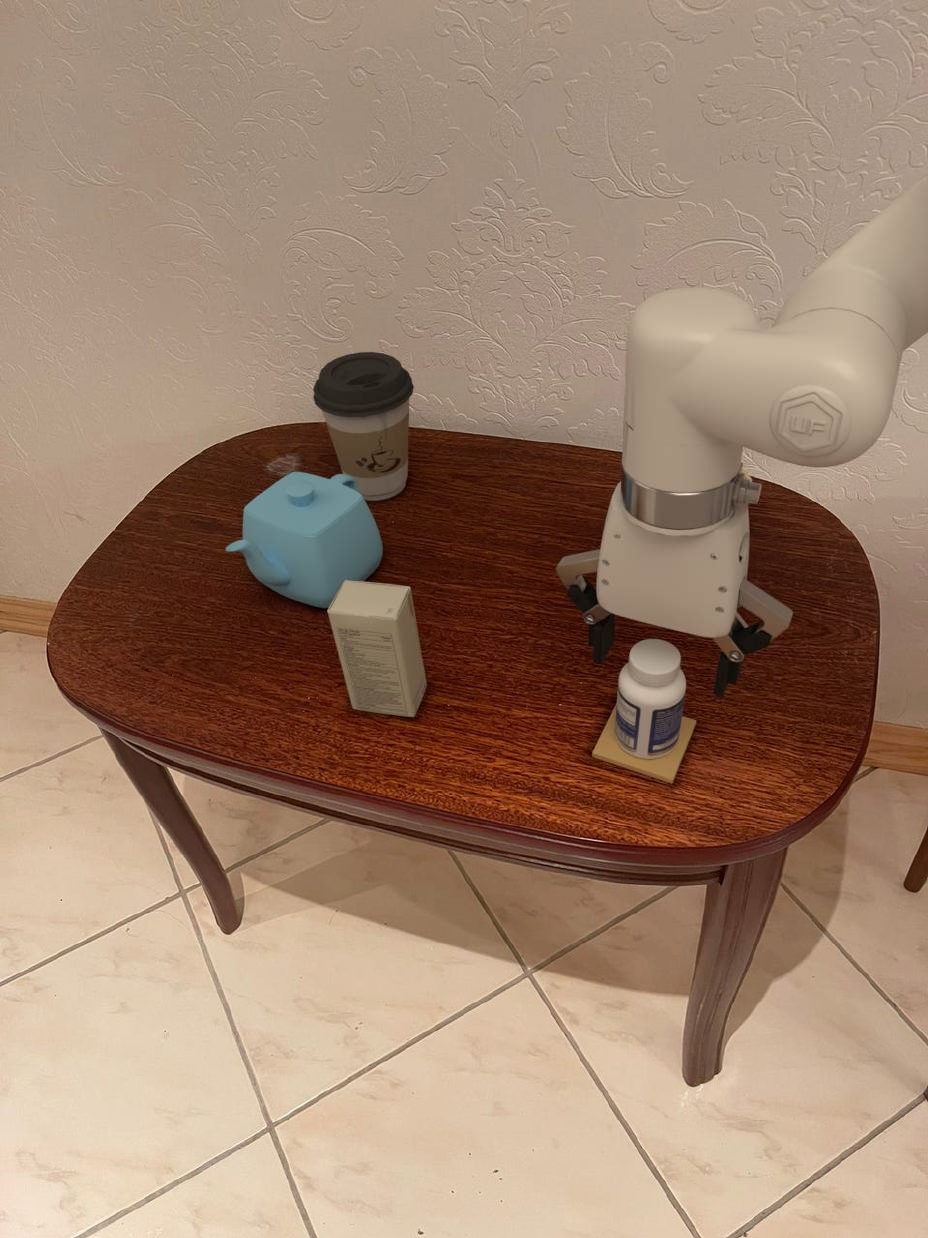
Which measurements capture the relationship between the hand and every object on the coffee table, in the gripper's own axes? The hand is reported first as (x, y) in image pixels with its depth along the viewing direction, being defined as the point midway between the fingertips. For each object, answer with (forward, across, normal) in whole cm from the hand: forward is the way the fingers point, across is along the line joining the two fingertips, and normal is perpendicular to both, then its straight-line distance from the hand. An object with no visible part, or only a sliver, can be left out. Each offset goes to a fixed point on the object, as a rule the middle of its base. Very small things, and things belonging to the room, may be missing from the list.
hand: (661, 668), depth 70 cm
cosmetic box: (+9, +24, +4) cm, 26 cm away
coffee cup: (+8, +43, -26) cm, 51 cm away
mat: (+9, +1, 0) cm, 9 cm away
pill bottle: (+9, +1, 0) cm, 9 cm away
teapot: (+8, +40, -6) cm, 41 cm away
